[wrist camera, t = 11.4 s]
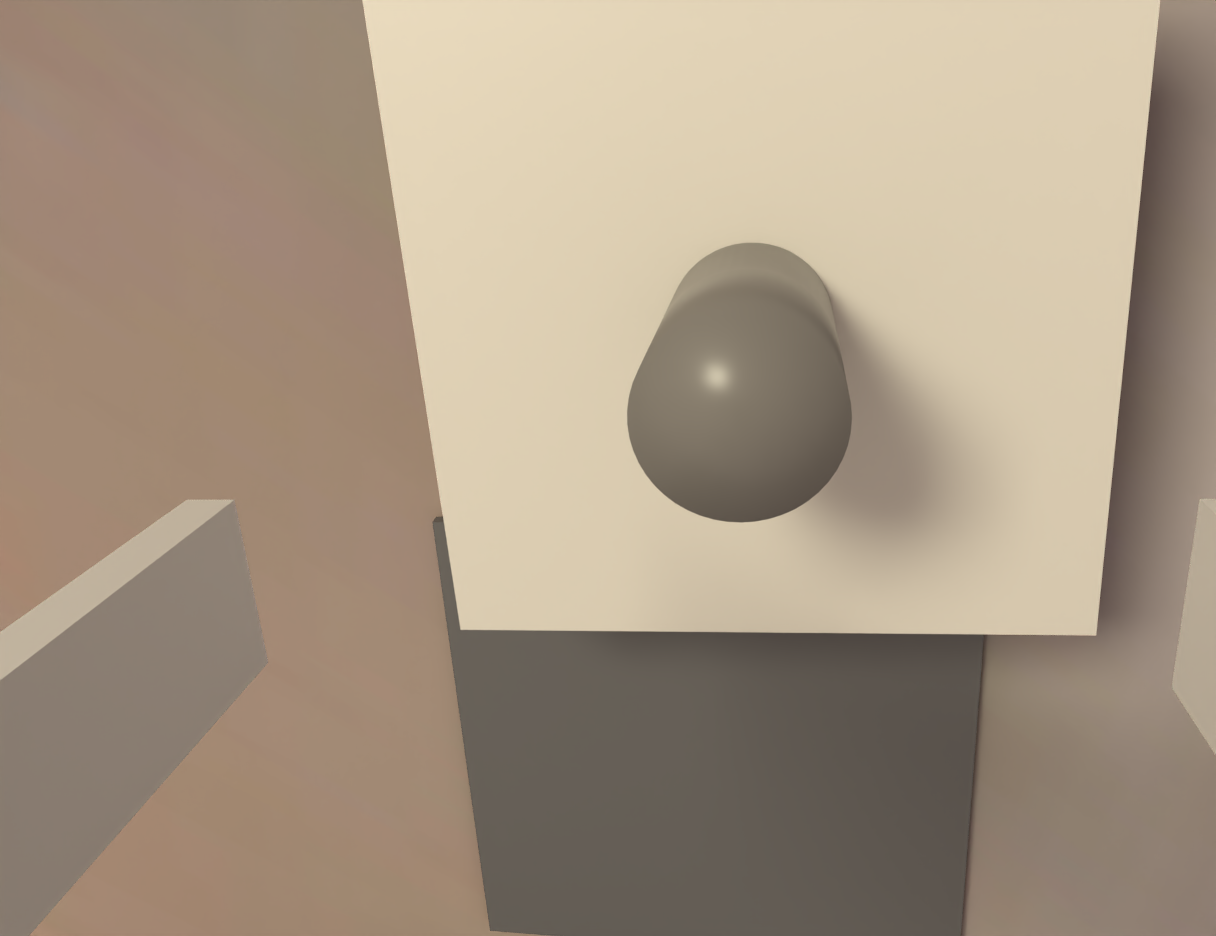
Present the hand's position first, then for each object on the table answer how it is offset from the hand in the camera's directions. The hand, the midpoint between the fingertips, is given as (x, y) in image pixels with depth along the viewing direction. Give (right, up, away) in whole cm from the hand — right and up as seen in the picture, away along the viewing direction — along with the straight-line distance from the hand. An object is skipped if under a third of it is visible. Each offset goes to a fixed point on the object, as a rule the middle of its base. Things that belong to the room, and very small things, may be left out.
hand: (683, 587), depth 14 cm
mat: (+3, -10, +28) cm, 30 cm away
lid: (+3, +6, +14) cm, 16 cm away
